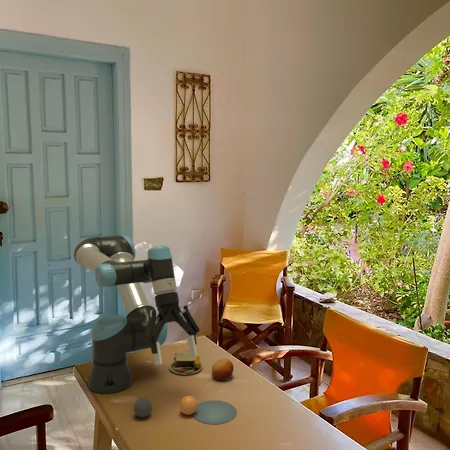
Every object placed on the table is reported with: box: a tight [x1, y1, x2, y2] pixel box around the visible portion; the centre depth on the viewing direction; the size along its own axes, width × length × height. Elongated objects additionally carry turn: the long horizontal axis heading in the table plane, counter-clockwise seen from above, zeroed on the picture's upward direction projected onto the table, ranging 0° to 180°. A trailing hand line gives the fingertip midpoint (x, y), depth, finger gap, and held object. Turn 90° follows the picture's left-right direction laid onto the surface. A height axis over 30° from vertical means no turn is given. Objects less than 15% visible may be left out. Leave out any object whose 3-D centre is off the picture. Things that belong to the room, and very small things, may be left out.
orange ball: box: [179, 395, 199, 416], centre depth 144 cm, size 6×6×6 cm
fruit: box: [211, 358, 235, 382], centre depth 169 cm, size 8×8×8 cm
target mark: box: [191, 399, 238, 425], centre depth 145 cm, size 14×14×1 cm
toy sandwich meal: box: [168, 350, 203, 376], centre depth 177 cm, size 12×14×5 cm
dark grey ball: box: [133, 397, 153, 418], centre depth 142 cm, size 6×6×6 cm
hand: (176, 360), depth 147 cm, fingers open, 13 cm apart
